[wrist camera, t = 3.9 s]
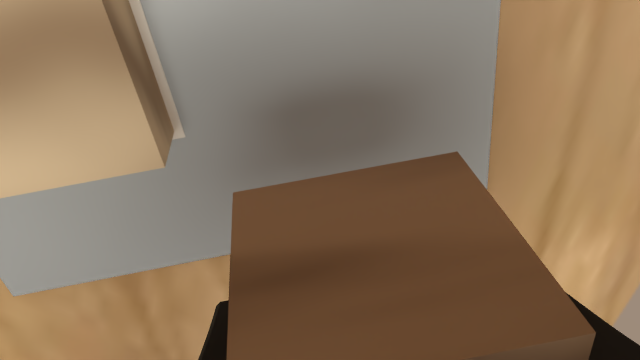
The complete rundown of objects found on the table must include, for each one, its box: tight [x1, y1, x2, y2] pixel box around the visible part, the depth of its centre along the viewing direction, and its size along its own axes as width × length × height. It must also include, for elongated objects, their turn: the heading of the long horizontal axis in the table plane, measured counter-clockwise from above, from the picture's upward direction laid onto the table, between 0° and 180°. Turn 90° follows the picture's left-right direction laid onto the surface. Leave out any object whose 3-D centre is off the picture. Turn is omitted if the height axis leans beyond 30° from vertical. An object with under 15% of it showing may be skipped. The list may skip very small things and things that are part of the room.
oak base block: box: [0, 0, 174, 198], centre depth 14 cm, size 7×7×2 cm
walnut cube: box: [227, 151, 596, 360], centre depth 10 cm, size 5×5×5 cm
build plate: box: [0, 0, 501, 296], centre depth 16 cm, size 14×20×1 cm
